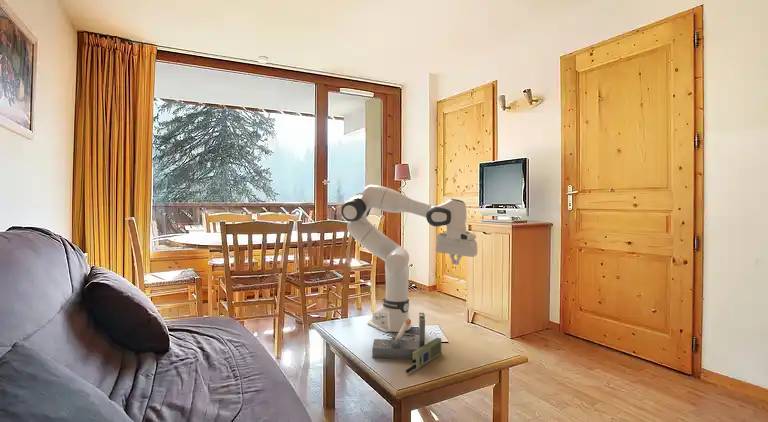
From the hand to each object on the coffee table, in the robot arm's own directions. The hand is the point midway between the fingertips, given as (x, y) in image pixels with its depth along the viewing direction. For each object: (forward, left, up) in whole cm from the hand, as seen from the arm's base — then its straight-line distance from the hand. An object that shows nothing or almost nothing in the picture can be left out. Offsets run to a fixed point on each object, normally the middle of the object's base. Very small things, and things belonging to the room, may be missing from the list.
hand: (455, 264), depth 186 cm
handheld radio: (+6, -33, -34) cm, 48 cm away
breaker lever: (-8, -33, -30) cm, 46 cm away
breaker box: (-7, -33, -34) cm, 48 cm away
